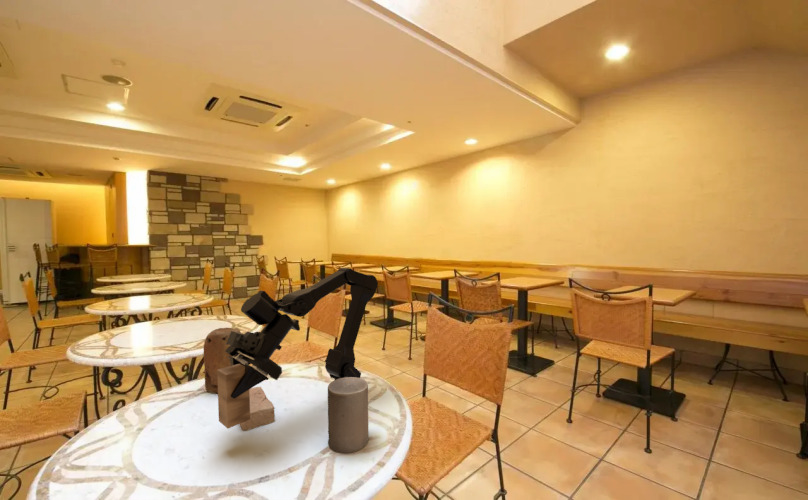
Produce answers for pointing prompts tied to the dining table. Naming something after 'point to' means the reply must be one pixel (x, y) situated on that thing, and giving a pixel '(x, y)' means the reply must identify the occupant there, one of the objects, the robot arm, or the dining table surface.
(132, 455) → the dining table surface
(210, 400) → the dining table surface
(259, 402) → the brick
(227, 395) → the walnut block
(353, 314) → the robot arm
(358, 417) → the pillar candle
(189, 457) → the dining table surface
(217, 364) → the block
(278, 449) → the dining table surface
